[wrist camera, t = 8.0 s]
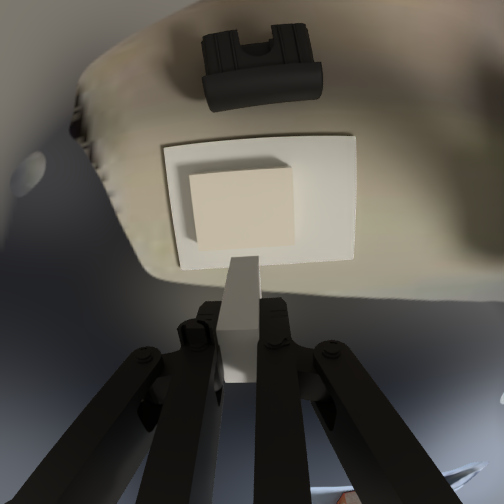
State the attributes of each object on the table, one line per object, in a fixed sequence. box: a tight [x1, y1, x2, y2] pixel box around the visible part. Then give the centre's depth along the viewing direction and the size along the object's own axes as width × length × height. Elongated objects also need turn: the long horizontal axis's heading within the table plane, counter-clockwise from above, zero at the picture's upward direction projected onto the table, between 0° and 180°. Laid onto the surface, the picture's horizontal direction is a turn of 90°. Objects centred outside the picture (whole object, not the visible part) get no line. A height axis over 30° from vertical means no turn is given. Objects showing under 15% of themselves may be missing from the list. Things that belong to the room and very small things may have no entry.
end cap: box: [201, 23, 323, 112], centre depth 24 cm, size 10×7×7 cm
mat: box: [164, 136, 356, 270], centre depth 32 cm, size 20×14×1 cm
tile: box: [189, 166, 295, 251], centre depth 31 cm, size 2×8×10 cm
